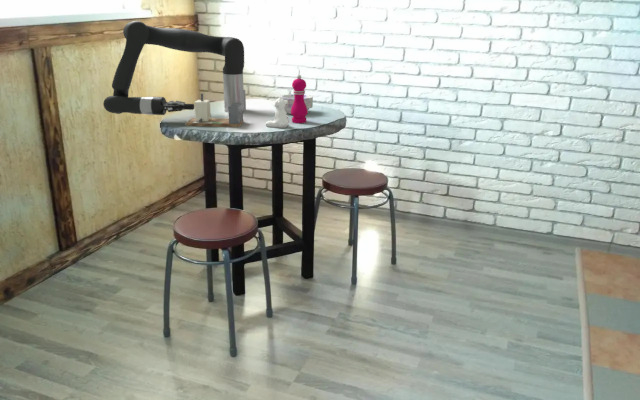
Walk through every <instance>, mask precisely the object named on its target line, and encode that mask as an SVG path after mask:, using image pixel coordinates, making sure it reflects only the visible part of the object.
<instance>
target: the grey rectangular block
mask: <svg viewBox="0 0 640 400" xmlns="http://www.w3.org/2000/svg"><path fill="white" fill-rule="evenodd" d="M228 119H229V124H239V123H240V122H241V121H242V120H244V111H243V103H232V104H231V105H230V106H229V107H228Z"/></svg>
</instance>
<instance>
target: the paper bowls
mask: <svg viewBox="0 0 640 400" xmlns="http://www.w3.org/2000/svg"><path fill="white" fill-rule="evenodd" d="M279 98H283V99H284V101H285V100H288V103H286V104H285V108H284V110H285V111H286V113H287V114H288V115H292V114H291V108H292V105H293V103H294V99H295V96H294V94H293V93H292V94H291V93H290V94H282V95H280V96H279ZM313 100H314V99H313V96H312V95H309V94H304V102H305V105H306V107H307V112H309V110H310V109H312V108H313V105H314V104H313Z"/></svg>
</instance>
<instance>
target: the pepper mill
mask: <svg viewBox="0 0 640 400" xmlns="http://www.w3.org/2000/svg"><path fill="white" fill-rule="evenodd" d="M291 87H292V88H293V93H292V94H294V96H295V99H294V103H293V105H292V108H291V114H290V115H291V116H292V117H291V123H294V124H305V123H307V117H306V116H307V115H308V112H309V111H308V112H307V107H306V105H305V102H304V95H306V88H307V81H306V80H305V79H303V78H302V75H301V74H298V75H297V76H296V78H295V79H294V80H293V81H292V84H291Z"/></svg>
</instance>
